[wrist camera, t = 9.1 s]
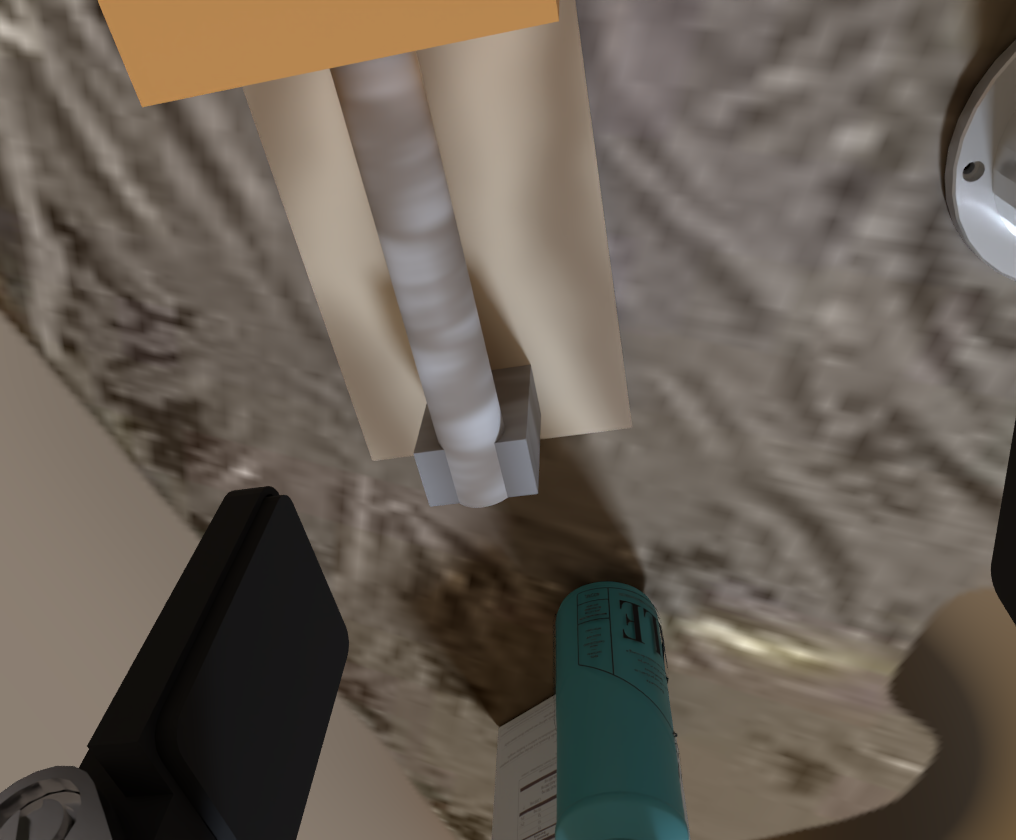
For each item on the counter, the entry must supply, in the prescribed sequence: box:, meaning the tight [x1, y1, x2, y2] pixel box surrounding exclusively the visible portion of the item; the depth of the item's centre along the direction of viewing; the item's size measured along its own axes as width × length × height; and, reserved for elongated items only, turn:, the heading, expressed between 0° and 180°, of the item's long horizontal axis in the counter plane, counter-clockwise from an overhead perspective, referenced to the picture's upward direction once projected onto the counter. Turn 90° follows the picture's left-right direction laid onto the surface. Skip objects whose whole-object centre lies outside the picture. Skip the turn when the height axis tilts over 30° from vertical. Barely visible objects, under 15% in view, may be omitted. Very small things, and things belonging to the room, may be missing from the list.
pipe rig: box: [242, 0, 632, 508], centre depth 33 cm, size 14×29×9 cm, turn 11°
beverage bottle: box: [553, 582, 689, 840], centre depth 42 cm, size 6×7×20 cm
